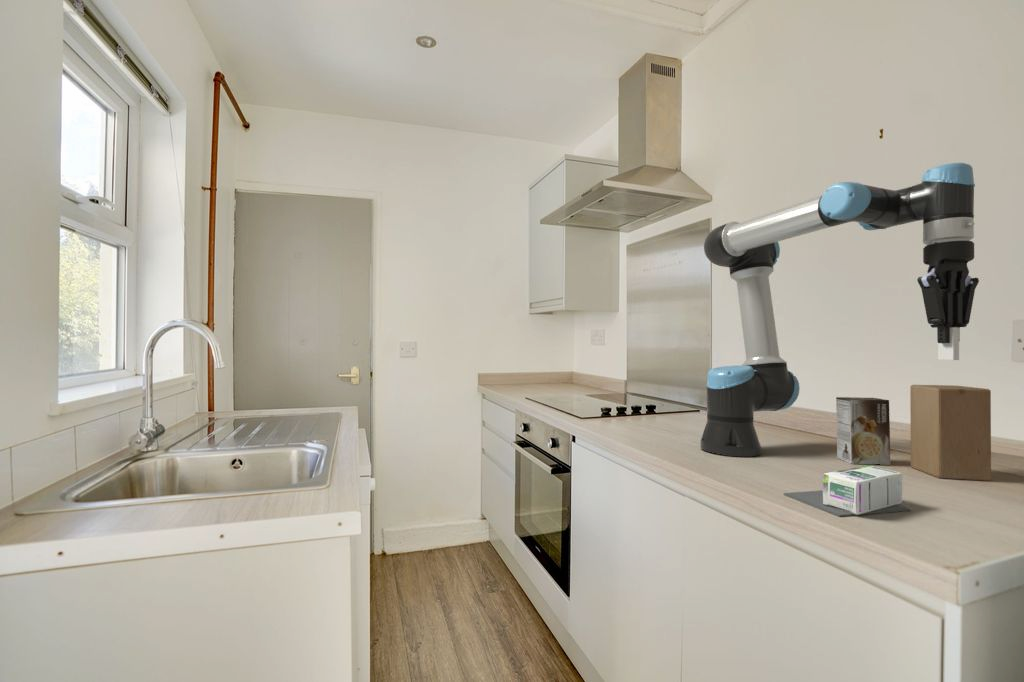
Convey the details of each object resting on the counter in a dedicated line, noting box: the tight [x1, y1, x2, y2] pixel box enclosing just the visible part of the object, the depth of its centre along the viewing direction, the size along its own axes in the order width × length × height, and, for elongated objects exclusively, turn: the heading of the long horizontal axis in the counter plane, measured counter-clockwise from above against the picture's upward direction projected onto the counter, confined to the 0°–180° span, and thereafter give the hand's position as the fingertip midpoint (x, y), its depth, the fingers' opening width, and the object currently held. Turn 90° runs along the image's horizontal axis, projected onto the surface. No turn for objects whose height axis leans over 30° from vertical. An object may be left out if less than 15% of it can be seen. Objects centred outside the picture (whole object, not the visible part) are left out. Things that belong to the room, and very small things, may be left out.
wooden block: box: [909, 384, 992, 482], centre depth 106 cm, size 10×10×20 cm
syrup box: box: [822, 464, 903, 516], centre depth 84 cm, size 6×6×14 cm
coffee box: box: [835, 396, 891, 466], centre depth 117 cm, size 9×6×16 cm
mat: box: [783, 489, 911, 518], centre depth 86 cm, size 15×12×1 cm
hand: (948, 359), depth 93 cm, fingers closed
